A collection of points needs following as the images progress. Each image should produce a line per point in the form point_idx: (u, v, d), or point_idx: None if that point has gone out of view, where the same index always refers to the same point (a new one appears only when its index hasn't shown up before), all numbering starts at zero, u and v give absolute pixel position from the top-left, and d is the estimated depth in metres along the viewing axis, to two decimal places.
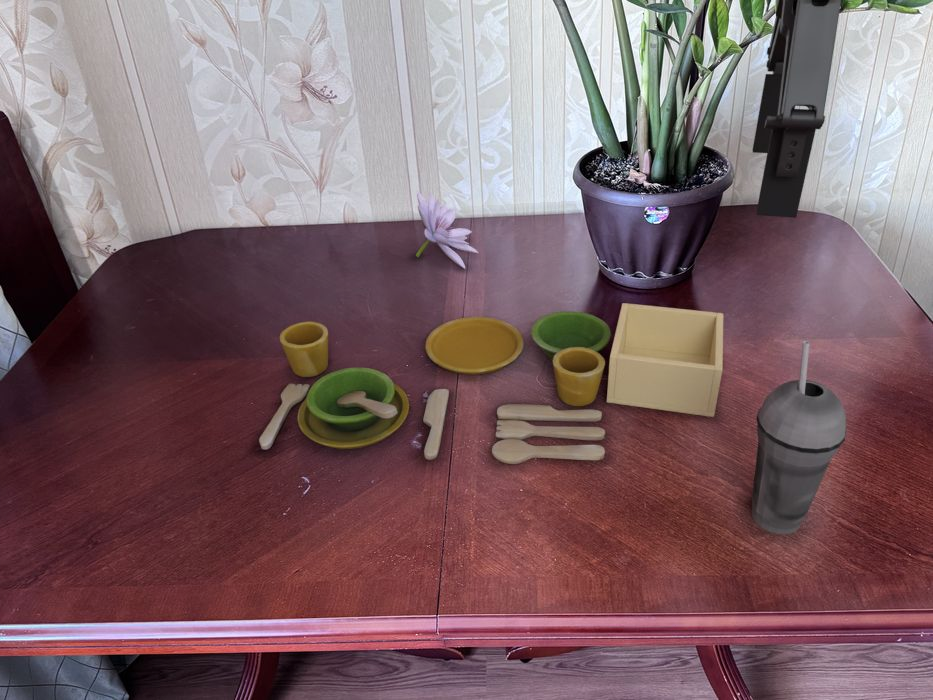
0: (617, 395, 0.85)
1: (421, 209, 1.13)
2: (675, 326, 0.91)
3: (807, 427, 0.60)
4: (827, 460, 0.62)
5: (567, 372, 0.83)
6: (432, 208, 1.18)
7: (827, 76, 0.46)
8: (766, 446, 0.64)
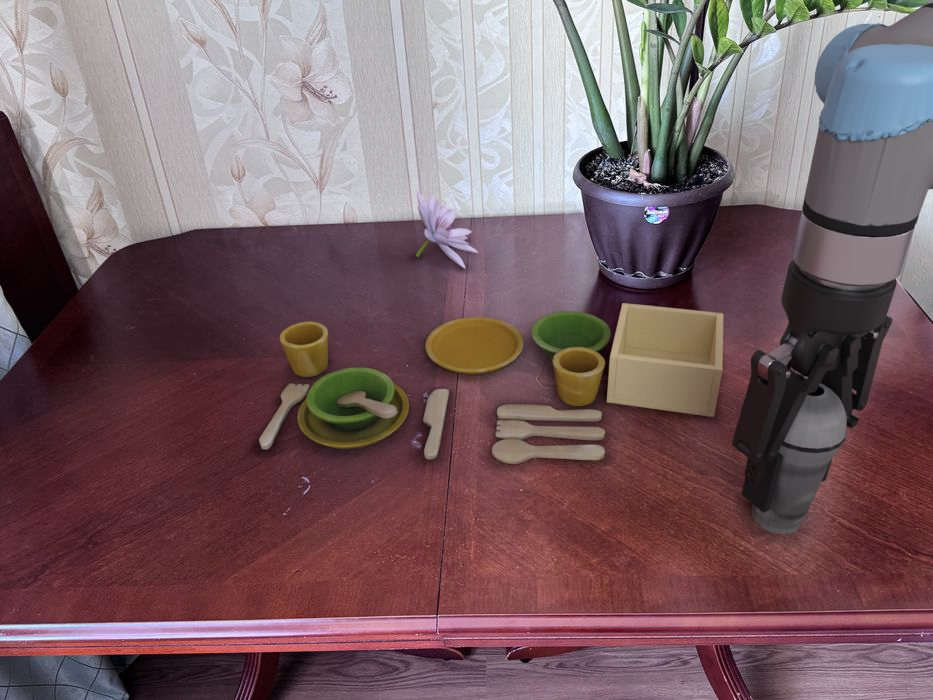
0: (617, 395, 0.85)
1: (421, 209, 1.13)
2: (675, 326, 0.91)
3: (807, 426, 0.60)
4: (827, 460, 0.62)
5: (567, 372, 0.83)
6: (432, 208, 1.18)
7: (759, 433, 0.59)
8: None
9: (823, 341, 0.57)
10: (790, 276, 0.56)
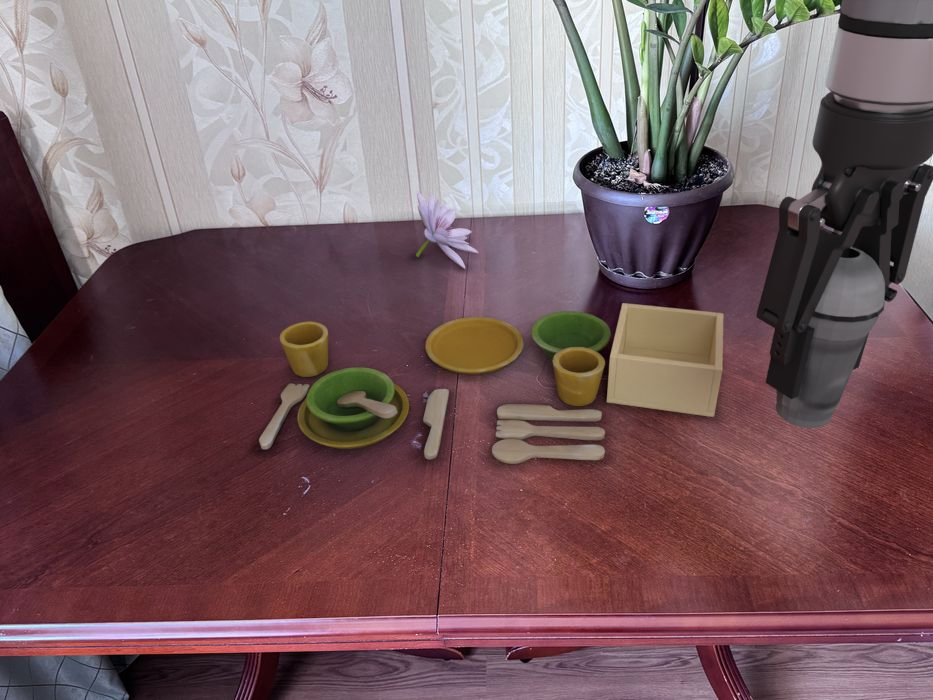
0: (617, 395, 0.85)
1: (421, 209, 1.13)
2: (675, 326, 0.91)
3: (842, 291, 0.54)
4: (864, 333, 0.56)
5: (567, 372, 0.83)
6: (432, 208, 1.18)
7: (789, 296, 0.52)
8: None
9: (861, 185, 0.50)
10: (824, 108, 0.49)
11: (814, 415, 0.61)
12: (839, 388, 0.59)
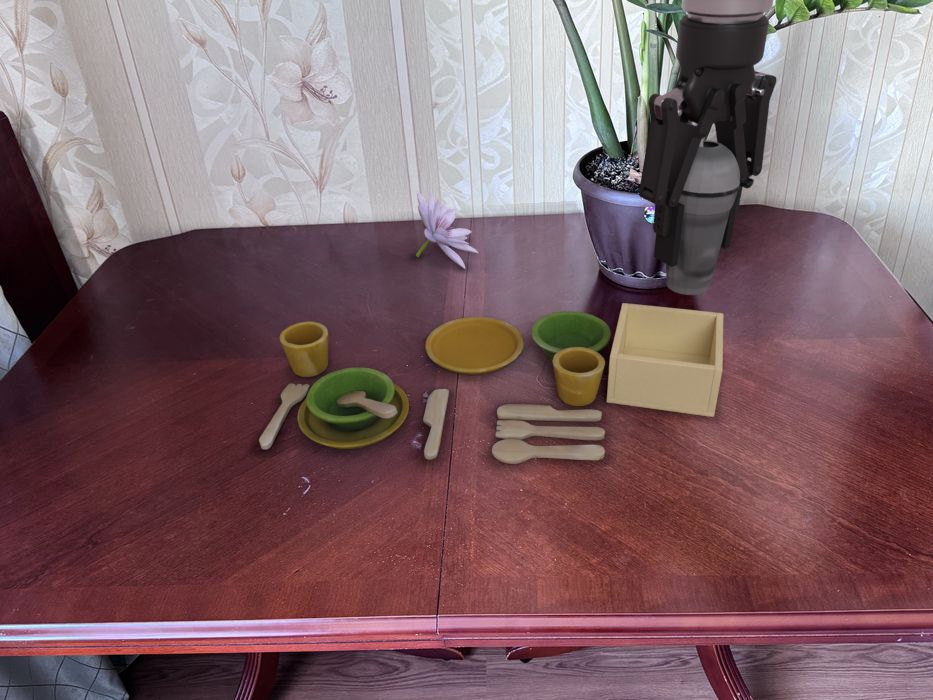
0: (617, 395, 0.85)
1: (421, 209, 1.13)
2: (675, 326, 0.91)
3: (703, 172, 0.69)
4: (723, 209, 0.71)
5: (567, 372, 0.83)
6: (432, 208, 1.18)
7: (659, 173, 0.68)
8: None
9: (710, 84, 0.65)
10: (680, 24, 0.64)
11: (692, 283, 0.76)
12: (710, 258, 0.75)
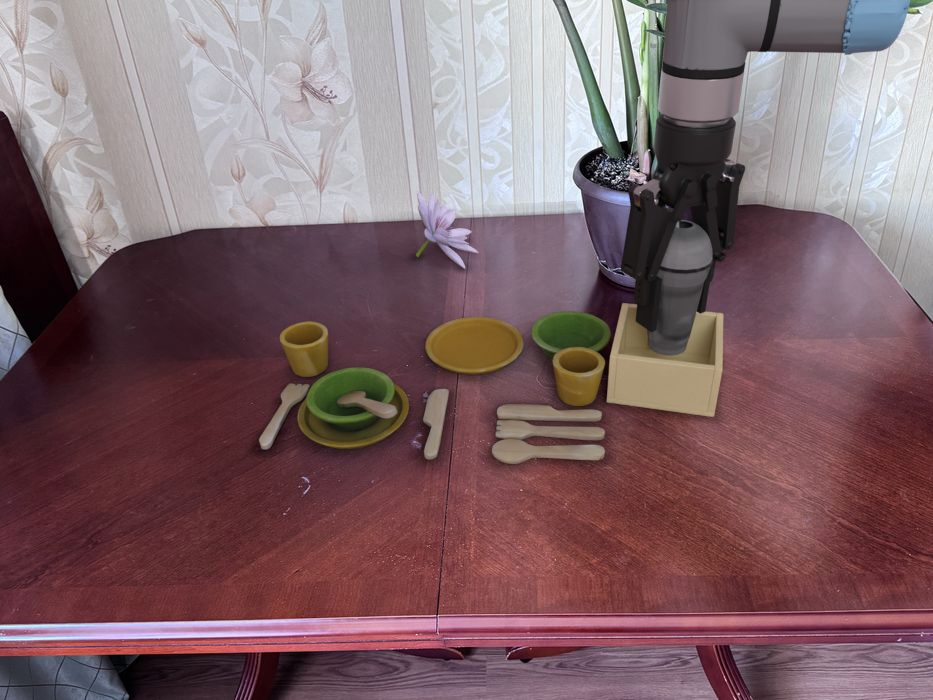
0: (617, 395, 0.85)
1: (421, 209, 1.13)
2: None
3: (678, 251, 0.76)
4: (697, 282, 0.78)
5: (567, 372, 0.83)
6: (432, 208, 1.18)
7: (638, 253, 0.75)
8: None
9: (684, 176, 0.73)
10: (656, 123, 0.72)
11: (670, 345, 0.84)
12: (686, 324, 0.82)
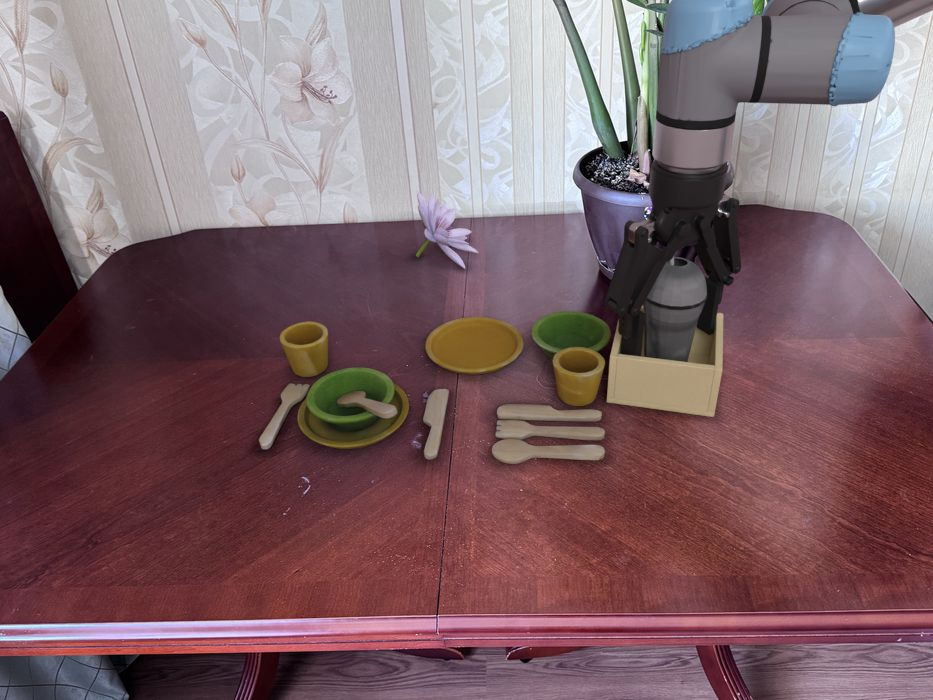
0: (617, 395, 0.85)
1: (421, 209, 1.13)
2: None
3: (673, 289, 0.79)
4: (692, 318, 0.81)
5: (567, 372, 0.83)
6: (432, 208, 1.18)
7: (624, 288, 0.77)
8: (647, 309, 0.82)
9: (680, 217, 0.75)
10: (651, 168, 0.74)
11: None
12: (681, 357, 0.85)
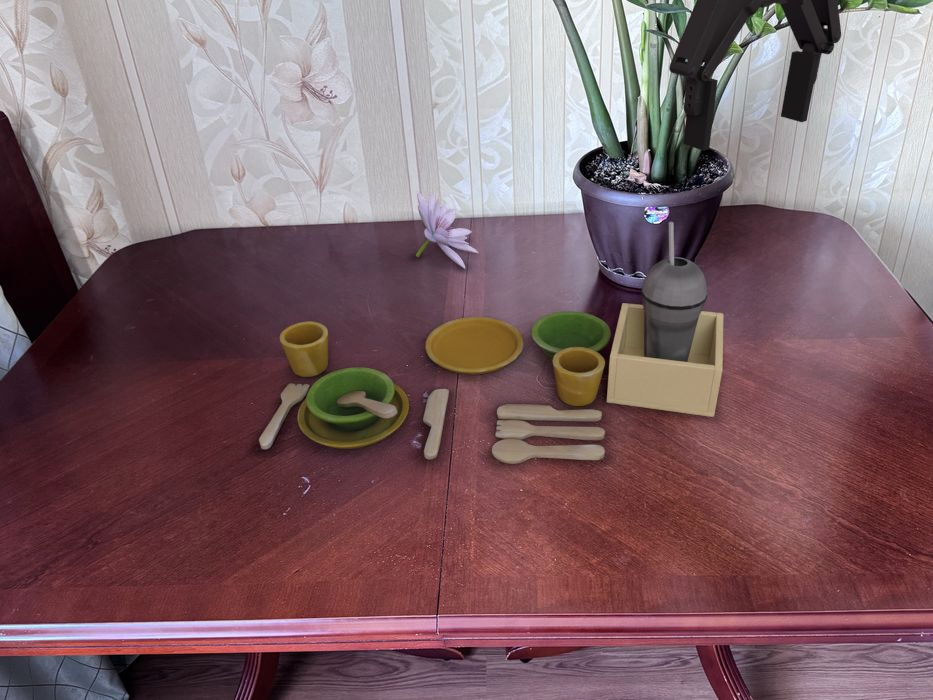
0: (617, 395, 0.85)
1: (421, 209, 1.13)
2: None
3: (673, 289, 0.79)
4: (692, 318, 0.81)
5: (567, 372, 0.83)
6: (432, 208, 1.18)
7: (699, 39, 0.64)
8: (647, 309, 0.82)
9: None
10: None
11: None
12: (681, 357, 0.85)
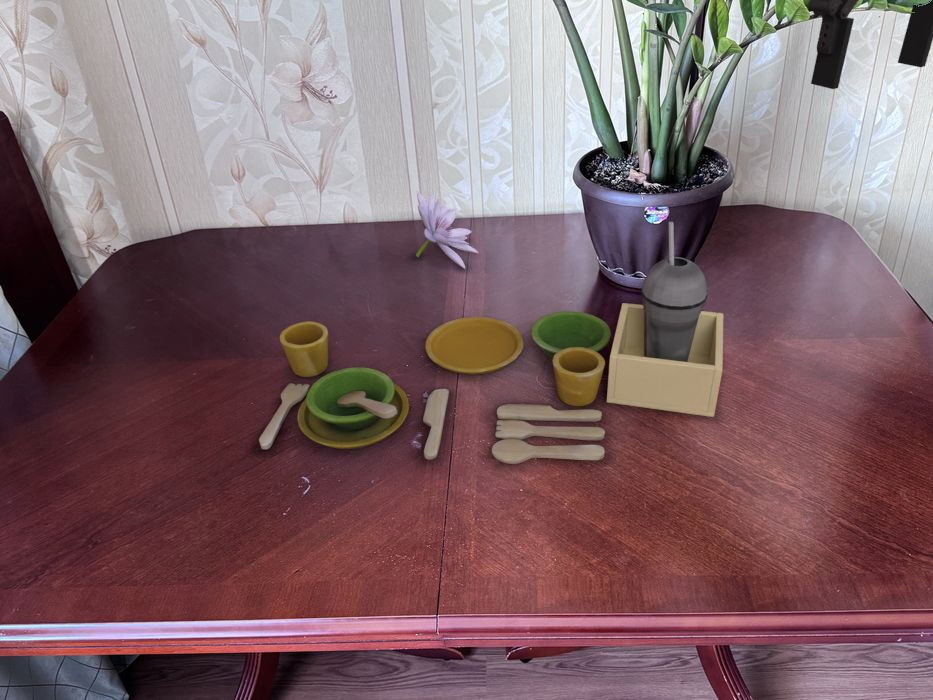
0: (617, 395, 0.85)
1: (421, 209, 1.13)
2: None
3: (673, 289, 0.79)
4: (692, 318, 0.81)
5: (567, 372, 0.83)
6: (432, 208, 1.18)
7: None
8: (647, 309, 0.82)
9: None
10: None
11: None
12: (681, 357, 0.85)
